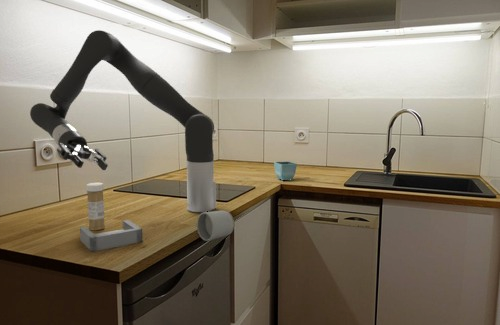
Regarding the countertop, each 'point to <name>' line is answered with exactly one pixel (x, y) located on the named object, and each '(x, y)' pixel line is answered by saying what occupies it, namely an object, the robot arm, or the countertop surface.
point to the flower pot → (285, 170)
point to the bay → (111, 237)
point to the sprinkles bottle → (95, 206)
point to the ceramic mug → (215, 224)
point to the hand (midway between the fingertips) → (94, 166)
